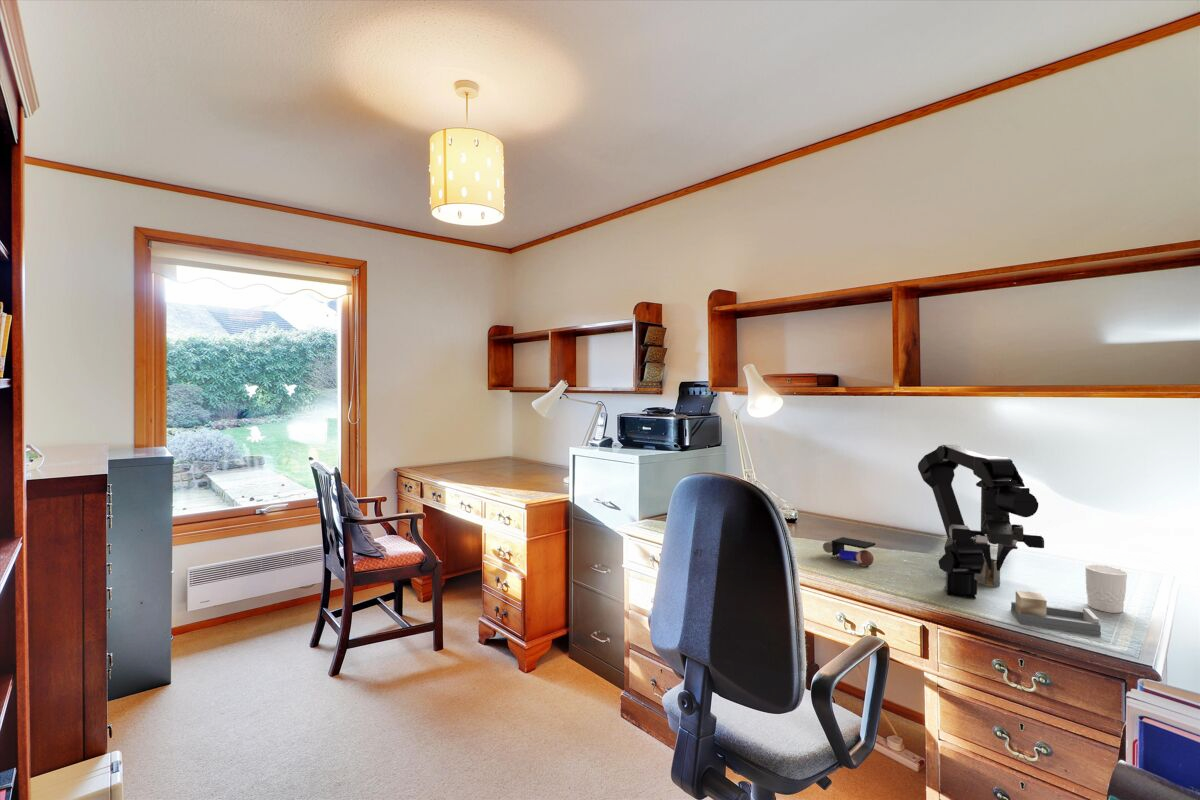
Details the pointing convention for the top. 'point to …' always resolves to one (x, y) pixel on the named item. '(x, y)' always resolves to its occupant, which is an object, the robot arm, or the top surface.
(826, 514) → the top surface
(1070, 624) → the chute
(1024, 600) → the birch block
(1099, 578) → the white cup
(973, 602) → the top surface
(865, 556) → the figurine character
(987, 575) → the brown piece
